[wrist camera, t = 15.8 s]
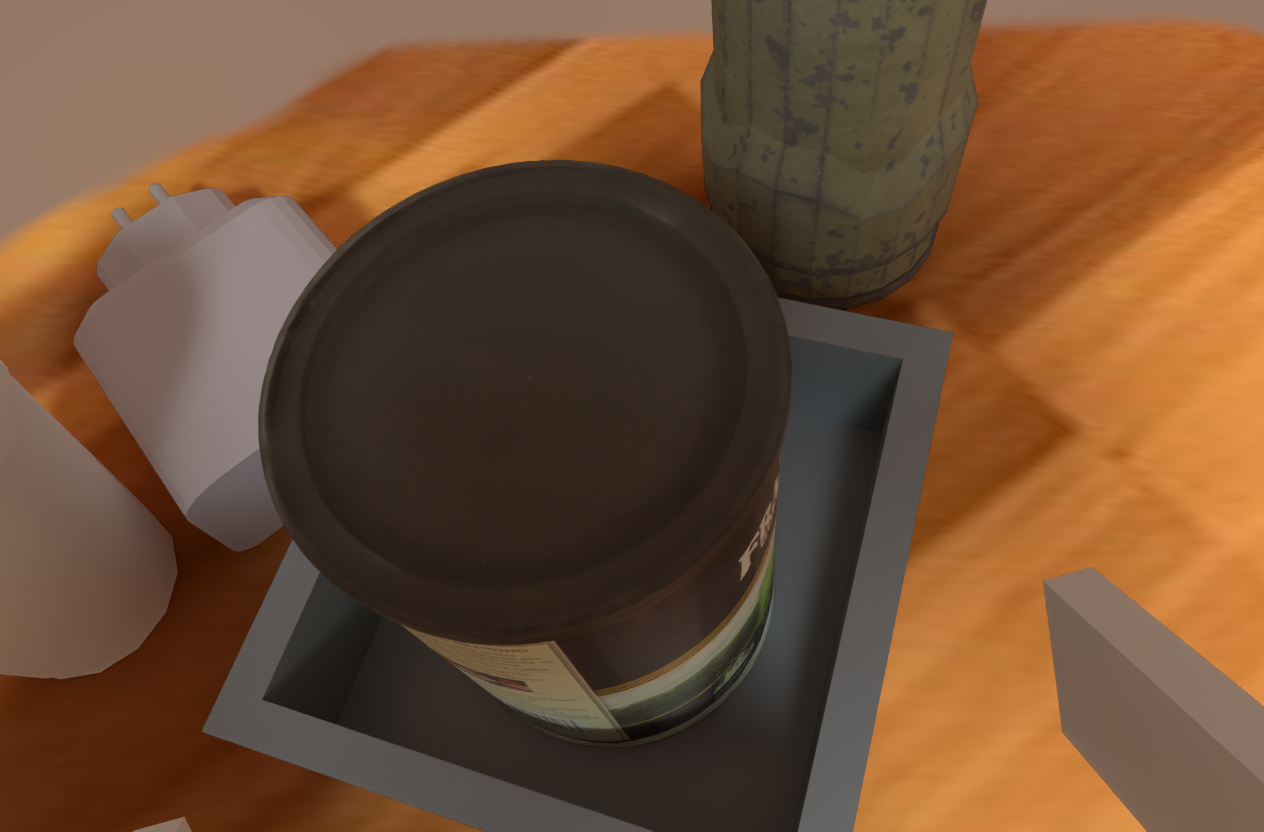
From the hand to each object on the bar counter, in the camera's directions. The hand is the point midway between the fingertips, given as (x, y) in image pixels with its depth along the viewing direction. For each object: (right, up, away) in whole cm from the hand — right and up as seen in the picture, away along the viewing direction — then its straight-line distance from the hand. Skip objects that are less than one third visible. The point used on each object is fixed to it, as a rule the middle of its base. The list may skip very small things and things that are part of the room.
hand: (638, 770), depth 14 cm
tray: (0, 0, +17) cm, 17 cm away
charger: (-15, +8, +24) cm, 29 cm away
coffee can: (-1, 0, +17) cm, 17 cm away
